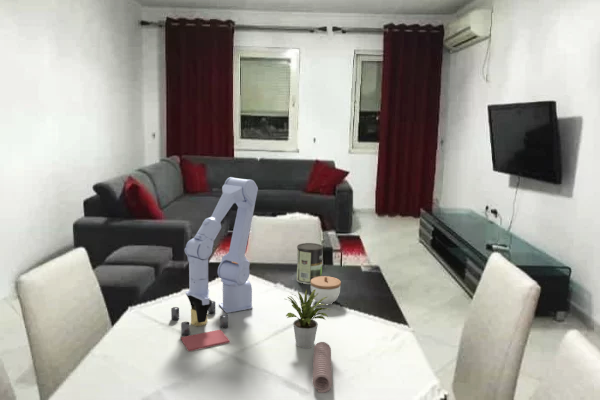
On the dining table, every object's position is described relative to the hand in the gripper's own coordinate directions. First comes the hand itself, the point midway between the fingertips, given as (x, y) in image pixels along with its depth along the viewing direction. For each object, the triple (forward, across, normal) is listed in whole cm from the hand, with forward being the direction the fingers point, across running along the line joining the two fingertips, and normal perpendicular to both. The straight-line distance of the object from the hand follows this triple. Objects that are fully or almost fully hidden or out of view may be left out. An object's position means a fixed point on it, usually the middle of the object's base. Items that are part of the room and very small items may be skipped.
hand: (199, 318), depth 149 cm
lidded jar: (+2, +2, +45) cm, 45 cm away
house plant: (+2, +27, +22) cm, 35 cm away
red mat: (+1, +12, -2) cm, 13 cm away
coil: (+2, +42, +20) cm, 47 cm away
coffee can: (+2, -20, +51) cm, 55 cm away
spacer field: (+1, 0, 0) cm, 1 cm away
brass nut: (+1, 0, 0) cm, 1 cm away
